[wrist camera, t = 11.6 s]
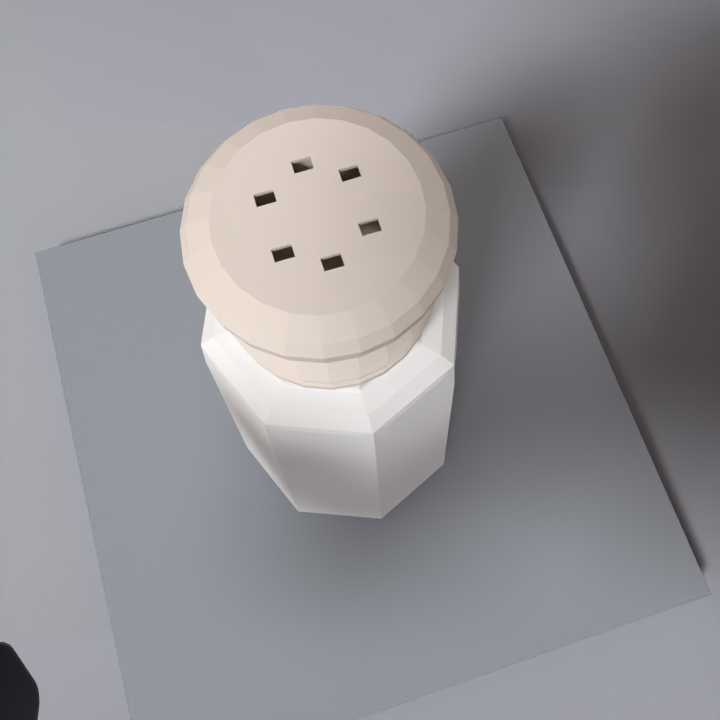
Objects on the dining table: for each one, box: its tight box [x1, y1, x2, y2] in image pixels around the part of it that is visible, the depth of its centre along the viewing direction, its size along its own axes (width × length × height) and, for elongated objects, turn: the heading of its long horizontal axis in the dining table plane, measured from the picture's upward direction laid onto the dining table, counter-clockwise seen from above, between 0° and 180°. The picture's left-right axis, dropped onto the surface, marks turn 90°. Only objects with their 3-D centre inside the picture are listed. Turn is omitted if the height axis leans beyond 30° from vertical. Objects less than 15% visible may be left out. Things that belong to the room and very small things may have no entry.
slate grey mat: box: [36, 118, 711, 720], centre depth 17 cm, size 14×14×1 cm
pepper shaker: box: [180, 105, 459, 519], centre depth 12 cm, size 5×5×11 cm
